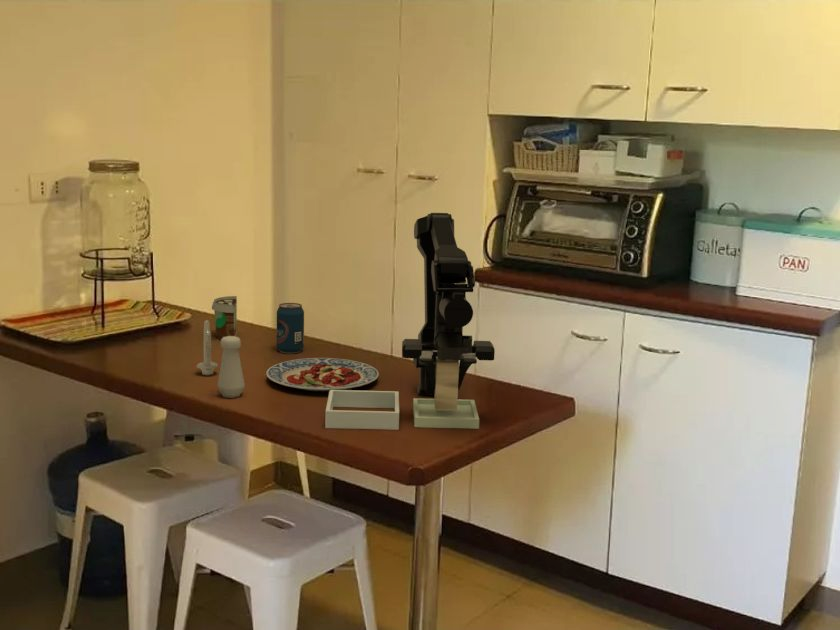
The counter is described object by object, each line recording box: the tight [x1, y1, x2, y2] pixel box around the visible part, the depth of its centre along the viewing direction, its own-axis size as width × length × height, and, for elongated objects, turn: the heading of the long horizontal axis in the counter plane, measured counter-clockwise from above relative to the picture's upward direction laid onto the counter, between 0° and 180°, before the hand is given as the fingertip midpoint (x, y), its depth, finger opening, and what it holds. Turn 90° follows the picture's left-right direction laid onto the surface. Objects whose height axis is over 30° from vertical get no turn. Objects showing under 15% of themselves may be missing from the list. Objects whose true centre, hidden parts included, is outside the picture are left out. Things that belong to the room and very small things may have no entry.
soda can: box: [276, 302, 305, 355], centre depth 256 cm, size 7×7×12 cm
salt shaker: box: [217, 336, 246, 399], centre depth 218 cm, size 6×6×13 cm
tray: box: [412, 397, 480, 430], centre depth 209 cm, size 13×13×2 cm
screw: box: [196, 319, 219, 376], centre depth 233 cm, size 13×5×5 cm
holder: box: [324, 389, 400, 431], centre depth 207 cm, size 15×15×4 cm
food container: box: [211, 295, 238, 341], centre depth 268 cm, size 12×6×10 cm, turn 6°
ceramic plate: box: [265, 357, 379, 392], centre depth 232 cm, size 26×26×3 cm
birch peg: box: [433, 357, 460, 410], centre depth 207 cm, size 4×4×10 cm
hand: (446, 389), depth 208 cm, fingers closed on birch peg, 4 cm apart
